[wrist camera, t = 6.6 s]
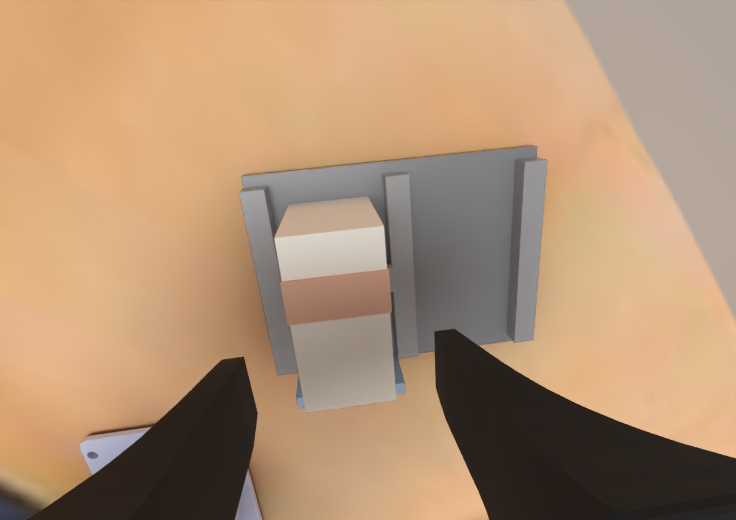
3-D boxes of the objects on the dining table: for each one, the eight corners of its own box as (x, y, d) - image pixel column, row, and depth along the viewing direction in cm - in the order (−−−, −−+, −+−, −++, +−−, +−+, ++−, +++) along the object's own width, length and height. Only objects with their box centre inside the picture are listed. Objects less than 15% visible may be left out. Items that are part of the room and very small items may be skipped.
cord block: (380, 332, 19) (398, 401, 15) (309, 341, 19) (304, 414, 14) (369, 196, 17) (385, 226, 12) (287, 204, 17) (271, 239, 12)
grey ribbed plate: (519, 338, 21) (549, 372, 18) (283, 371, 20) (276, 411, 17) (531, 145, 17) (571, 150, 14) (243, 175, 16) (226, 186, 14)
